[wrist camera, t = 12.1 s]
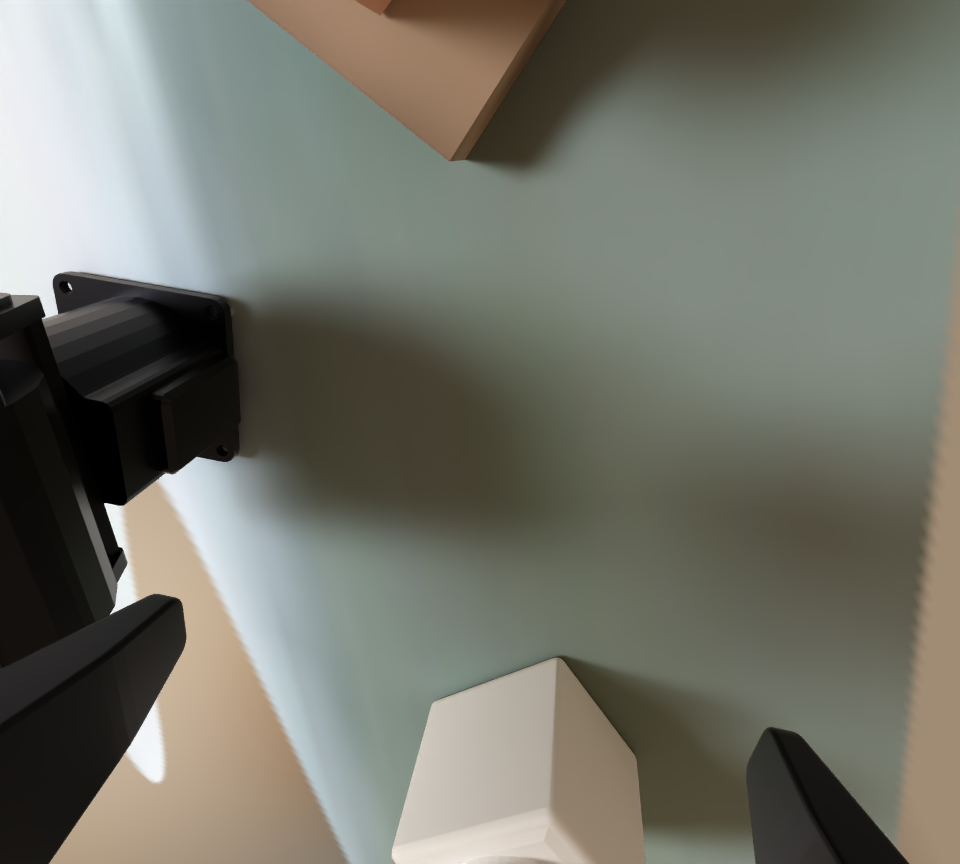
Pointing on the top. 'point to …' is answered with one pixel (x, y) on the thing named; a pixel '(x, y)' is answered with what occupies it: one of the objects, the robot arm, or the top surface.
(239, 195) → the top surface
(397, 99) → the walnut block
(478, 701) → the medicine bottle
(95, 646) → the robot arm
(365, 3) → the terracotta block
